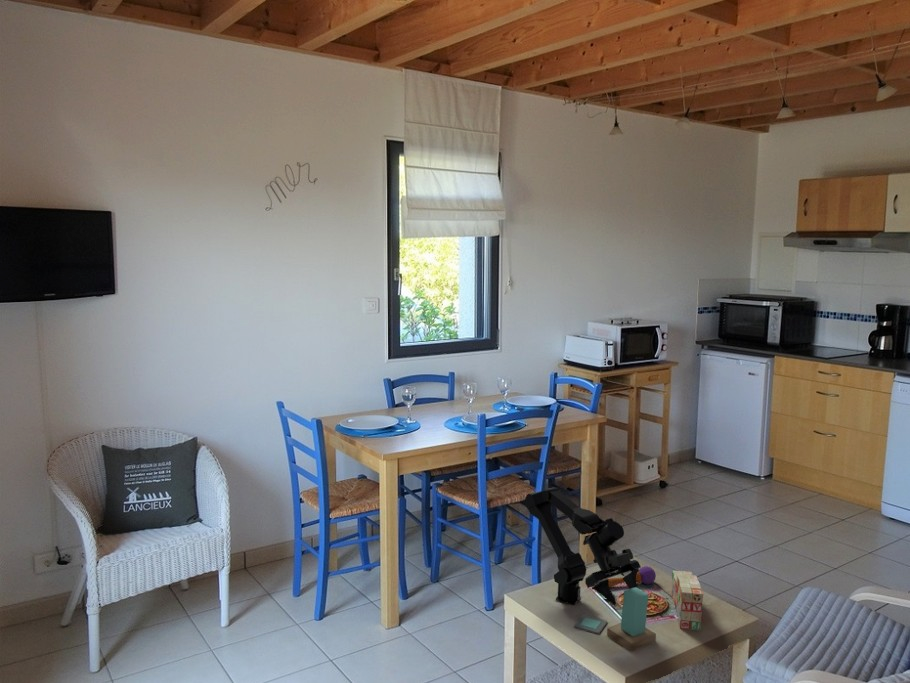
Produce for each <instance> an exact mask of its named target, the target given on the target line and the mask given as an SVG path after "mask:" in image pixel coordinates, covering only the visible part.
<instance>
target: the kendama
mask: <svg viewBox="0 0 910 683" xmlns="http://www.w3.org/2000/svg"><path fill="white" fill-rule="evenodd" d="M622 578H623V577H610V578H607V579H608V580H609V588H611V587H614V586H616V585H620V584H623V583H625V582H624V580H623V579H622ZM605 580H606V579H605ZM655 580H656V572H655V570H654V569H653V568H652V567H651V566H647V565H644V566H642V567H641V568H639V572H637V575H636V583H637V584H641V583H642V584H643V583H644V584H643V585H651V584H653V583H654V582H655Z"/></svg>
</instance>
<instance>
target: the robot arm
mask: <svg viewBox="0 0 910 683" xmlns="http://www.w3.org/2000/svg"><path fill="white" fill-rule="evenodd" d="M524 505H525V508H526V509H527V511H528V512H529V513H530V515H532V516H533V517H535V518H536V519H537V520H538V521H539V523H540V525H541V527H542V529H543V531H544V533H545V535H546V537H547V539H548V541H549V542H550V544H551V547H552V549H553V551H554V553H555V554H556V557H557V569H558V571H557V572H556V573H554V574H553V579H554V582H555V583H556V584H557V596H556V597H555V601H557V602H562V603H564V604H568V605H572V606H574V605H575V604H577V602H578V601H579V600H580V599H581V586H580V582H582V581H584V583H585V585H586V587H587V589H589V588H591V590H595V591H596V592H597V593H598V594H600V595H601V596H602V597H604V598H605V599H606V600H607V601H608V602H609V603H611V604H612V605H613V606H616V605H617V602H616V599H615V596H614V594H613V592H612V590H611V587H609V580H608V579H610V578H614V577H615V576H619V575H620V576H622V577H621V578H622V579H623V580H624V582H623V583H625V585H626V586H627V587H628V589H631V588H635V587H637V588H638V583H637V582H636V575H637V572H639V569H640V568H642V567H641V563H640V562H639V561H638V560H636V559H634V555H633V552H632V550H631V549H630V548H625V549H623V550H622V552H621V553H617V551H616V550H615V549H613V550H612V548H611V546H612V545H614V544H615V543H617V542H618V541H619V540H621V539H622V538H624V535H625V530H624V528H623V526H622V525H621V524H620V523H619V522H617V521H616V520H615V521H614V519H613V518H612V517H610V518H607V519H605V520H603V519H602V518H601V517H599V515H598V514H596V513H595V512H593V511H592V510H590V509H585V508H582V507H581V506H579V505H578V504H576V502H573V500H571V499H570V498H569V497H567V496H566V495H564V494H563V493H562V491H561V492H560V490H559V488H557V487H555V486H554V487H550V488H549V487H548V488H546V489H544V490H540V491H536V492H531V493H527V494H526V495H525V499H524ZM553 506H554V507H555V508H556V509H557V510H558V511H560V512H561V513H562V514H563V515H564V516H566V517H567V518H568V519H569V520H570V522H571V524H572V526H573V528H574V529H575V530H576V532H578V533H579V534H580V535H583V536H584V540H583V542H582V545H583V546H586V545H588V546H589V548H590V551H591V552H592V555H593V557H594V559H593V562H594V563H593V564H597V565H598V567H599V569H600V570H597V571H594V572H592V573H590V574H589V575H588V576H587V577H586V574H587V566H586V565H585V564H586V562H585V561H584V559H583V557H582V554H580V552H576V553H575V552H574V551H572V549H571V548H570V546H569V544H568V542H567V540H566V538H565V536H564V535H563V533H562V530H561V528H560V527H559V526H560V525H558V523H557V521H556V519H555V517H554V515H553V513H552V508H553ZM587 534H588V535H587ZM585 577H586V578H585ZM584 579H585V580H584ZM605 579H606V580H605Z"/></svg>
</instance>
